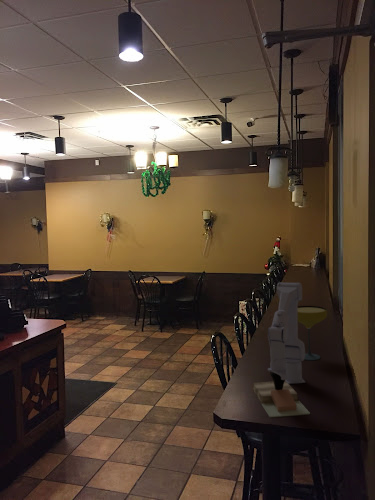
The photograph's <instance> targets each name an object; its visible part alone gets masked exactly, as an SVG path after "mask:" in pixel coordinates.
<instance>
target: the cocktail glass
mask: <svg viewBox="0 0 375 500" xmlns="http://www.w3.org/2000/svg"><path fill="white" fill-rule="evenodd" d="M327 316H328V311H327V308H326V307H323V306H322V307H321V306H318V305H317V306H316V305H298V323H300V324H302V325H303V326H305V328H306V329H307V330H308V331H307V333H308V334H307V336H308V350H307V353H306V352H305V359H304V360H303V361H319V360H320V359H321V356H320V355H319V354H315V353H312V352H311V351H312V350H311V338H310V333H311V332H310V331H311V330H310V329H311V328H312V327H313V326H315V325H316V324H319V323H321V322H322V321H324V320H325V319H327Z"/></svg>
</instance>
